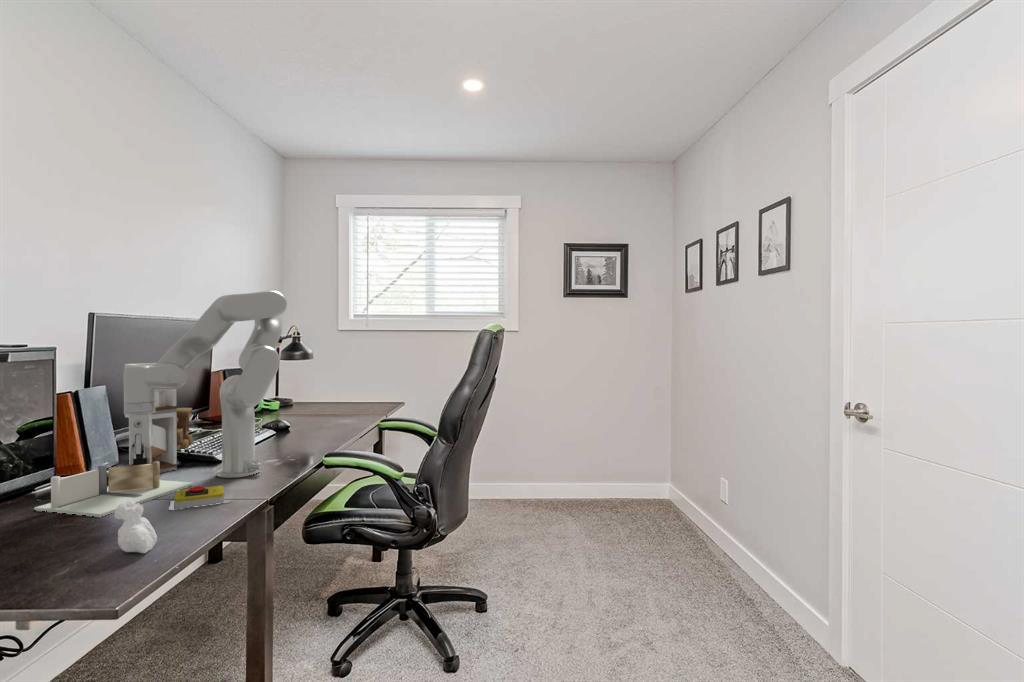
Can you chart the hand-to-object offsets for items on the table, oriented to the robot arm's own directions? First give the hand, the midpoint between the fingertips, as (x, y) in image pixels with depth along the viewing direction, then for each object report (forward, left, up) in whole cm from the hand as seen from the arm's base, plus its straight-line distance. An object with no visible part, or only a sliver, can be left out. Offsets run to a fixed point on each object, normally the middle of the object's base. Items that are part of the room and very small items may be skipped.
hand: (140, 471), depth 158 cm
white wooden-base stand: (+16, -19, -6) cm, 25 cm away
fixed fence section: (+5, +14, -4) cm, 15 cm away
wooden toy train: (+26, -38, -6) cm, 46 cm away
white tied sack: (-37, +35, -6) cm, 52 cm away
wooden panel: (-1, +3, -4) cm, 5 cm away
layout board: (-1, +7, -5) cm, 9 cm away
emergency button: (-25, +5, -6) cm, 27 cm away
